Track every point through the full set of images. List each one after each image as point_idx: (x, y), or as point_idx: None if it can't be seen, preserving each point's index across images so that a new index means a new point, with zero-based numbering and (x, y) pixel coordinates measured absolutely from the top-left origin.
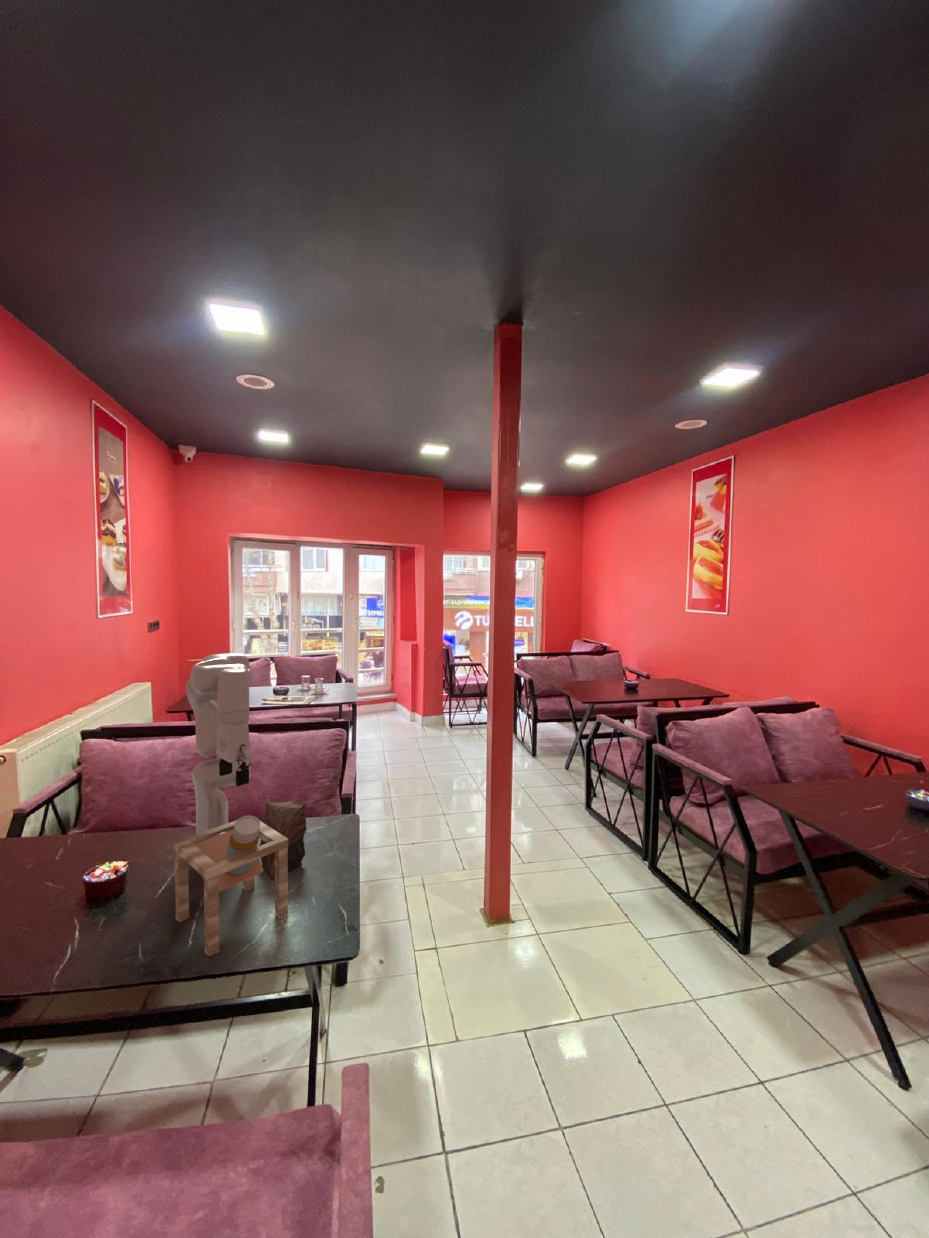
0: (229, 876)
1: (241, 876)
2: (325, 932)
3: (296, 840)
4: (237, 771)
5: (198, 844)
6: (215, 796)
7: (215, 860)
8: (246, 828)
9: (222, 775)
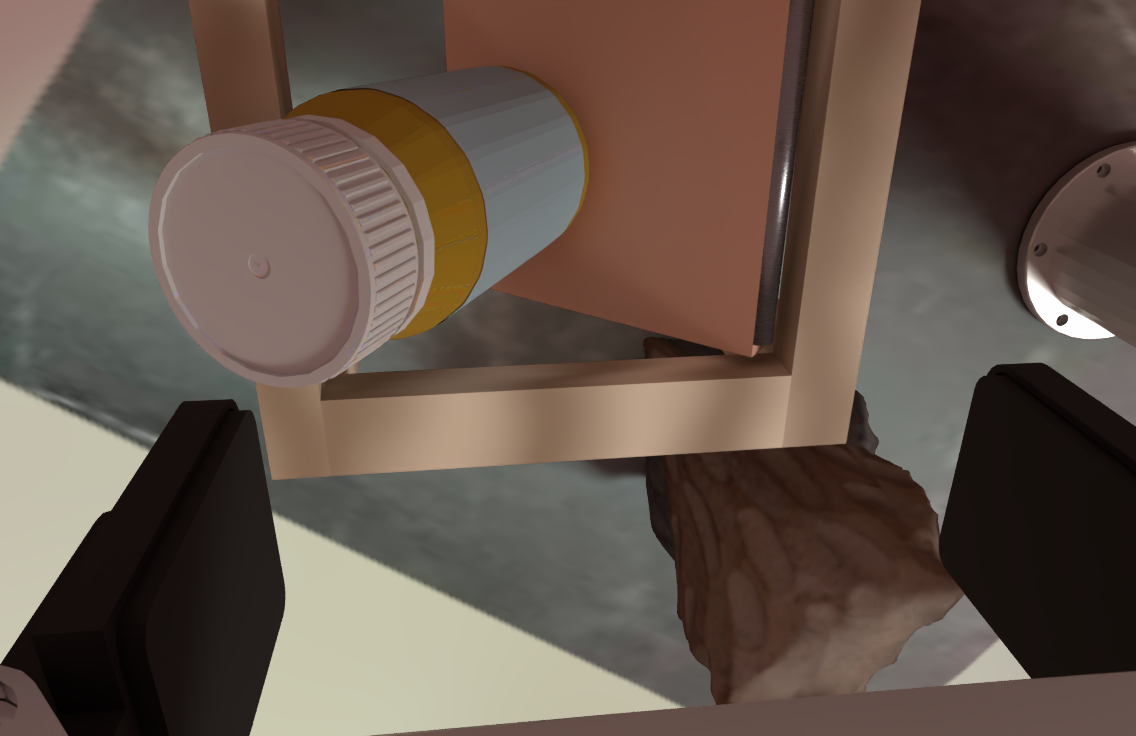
0: None
1: None
2: (97, 328)
3: (673, 539)
4: (47, 645)
5: None
6: None
7: (609, 41)
8: (227, 237)
9: (973, 397)
